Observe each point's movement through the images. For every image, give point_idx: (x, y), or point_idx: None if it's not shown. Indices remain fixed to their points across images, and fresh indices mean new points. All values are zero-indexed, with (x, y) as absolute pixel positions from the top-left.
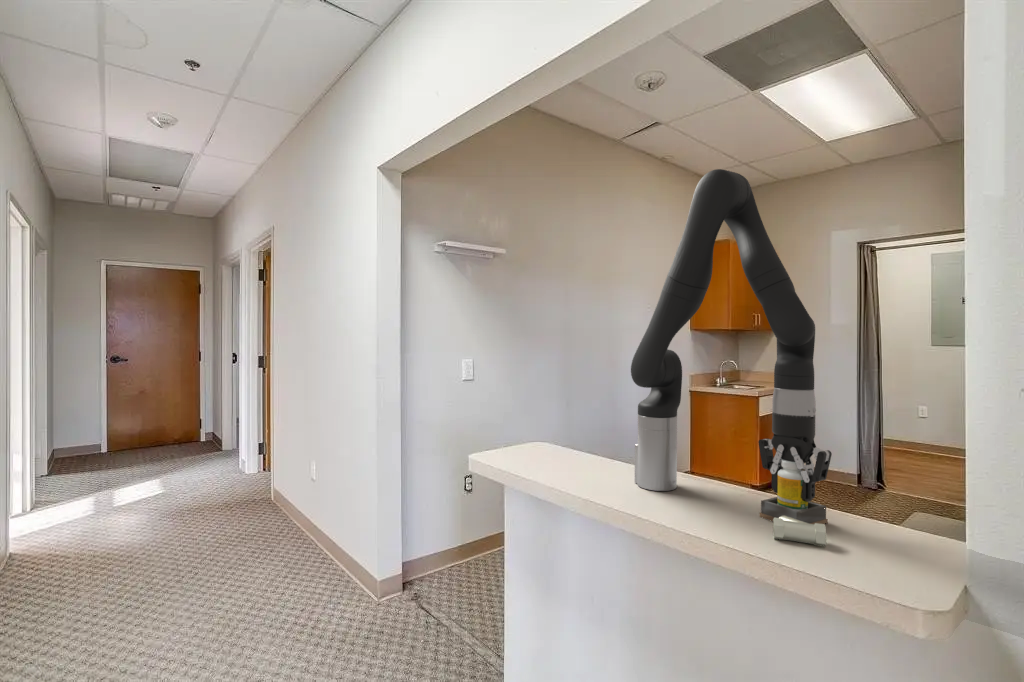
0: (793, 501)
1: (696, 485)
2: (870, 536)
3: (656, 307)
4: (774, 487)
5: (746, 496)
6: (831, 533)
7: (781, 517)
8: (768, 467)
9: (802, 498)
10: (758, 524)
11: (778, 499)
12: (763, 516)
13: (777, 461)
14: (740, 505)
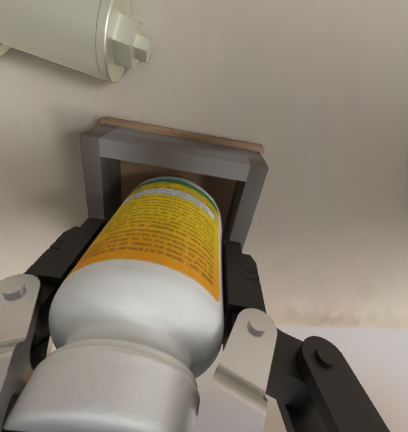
0: (133, 196)
1: None
2: (6, 226)
3: None
4: (237, 253)
5: (350, 288)
6: (55, 173)
7: (99, 7)
8: (297, 352)
9: (101, 221)
10: (231, 50)
11: (205, 203)
12: (246, 144)
13: (215, 408)
14: (349, 208)
